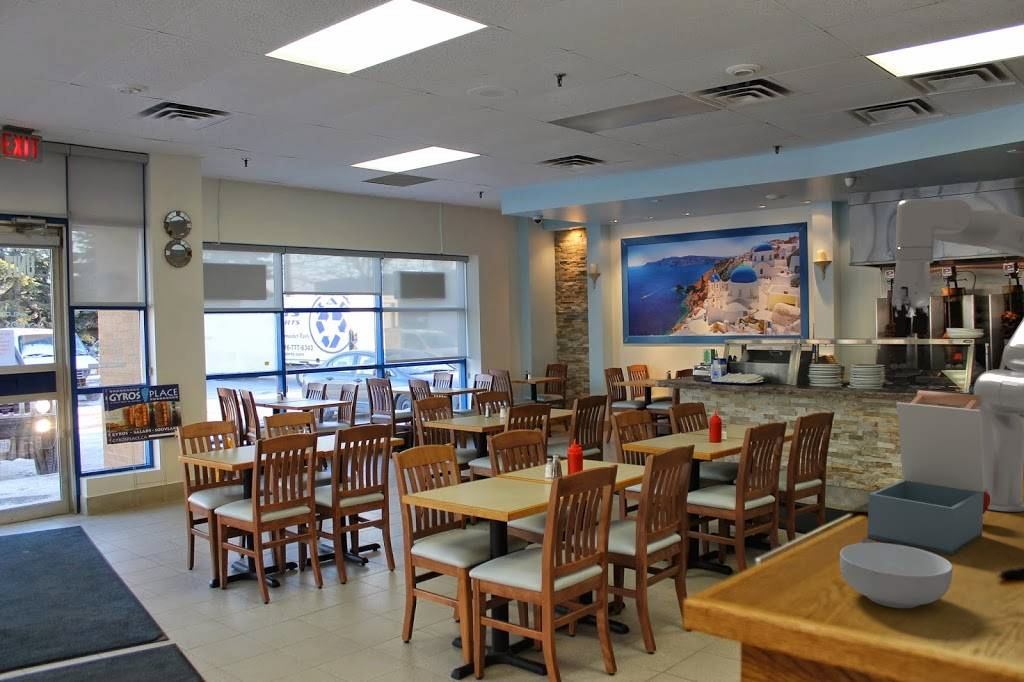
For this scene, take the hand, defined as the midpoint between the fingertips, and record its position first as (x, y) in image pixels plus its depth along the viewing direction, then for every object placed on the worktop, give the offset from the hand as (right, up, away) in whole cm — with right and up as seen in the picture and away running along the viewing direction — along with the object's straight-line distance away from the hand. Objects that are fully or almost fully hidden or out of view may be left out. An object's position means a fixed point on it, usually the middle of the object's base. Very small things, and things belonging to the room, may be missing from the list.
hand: (911, 334), depth 189 cm
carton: (-4, -41, -14) cm, 44 cm away
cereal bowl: (-25, -44, -48) cm, 70 cm away
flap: (+1, -23, -10) cm, 25 cm away
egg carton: (-22, -43, -31) cm, 57 cm away
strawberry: (+12, -41, -4) cm, 43 cm away
